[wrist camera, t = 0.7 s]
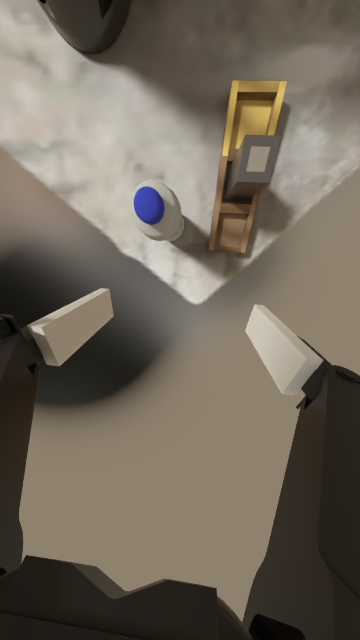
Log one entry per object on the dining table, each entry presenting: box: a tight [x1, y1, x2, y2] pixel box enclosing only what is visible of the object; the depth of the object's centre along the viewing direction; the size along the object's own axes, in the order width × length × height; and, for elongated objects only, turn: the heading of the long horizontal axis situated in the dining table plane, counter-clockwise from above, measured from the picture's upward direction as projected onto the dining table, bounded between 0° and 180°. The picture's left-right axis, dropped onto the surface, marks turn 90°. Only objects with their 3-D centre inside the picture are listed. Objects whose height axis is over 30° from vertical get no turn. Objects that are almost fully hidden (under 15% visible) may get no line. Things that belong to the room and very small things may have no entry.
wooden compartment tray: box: [208, 80, 287, 253], centre depth 28 cm, size 23×8×3 cm, turn 177°
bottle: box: [131, 180, 184, 241], centre depth 24 cm, size 7×7×20 cm
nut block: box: [224, 134, 282, 202], centre depth 24 cm, size 4×4×10 cm
